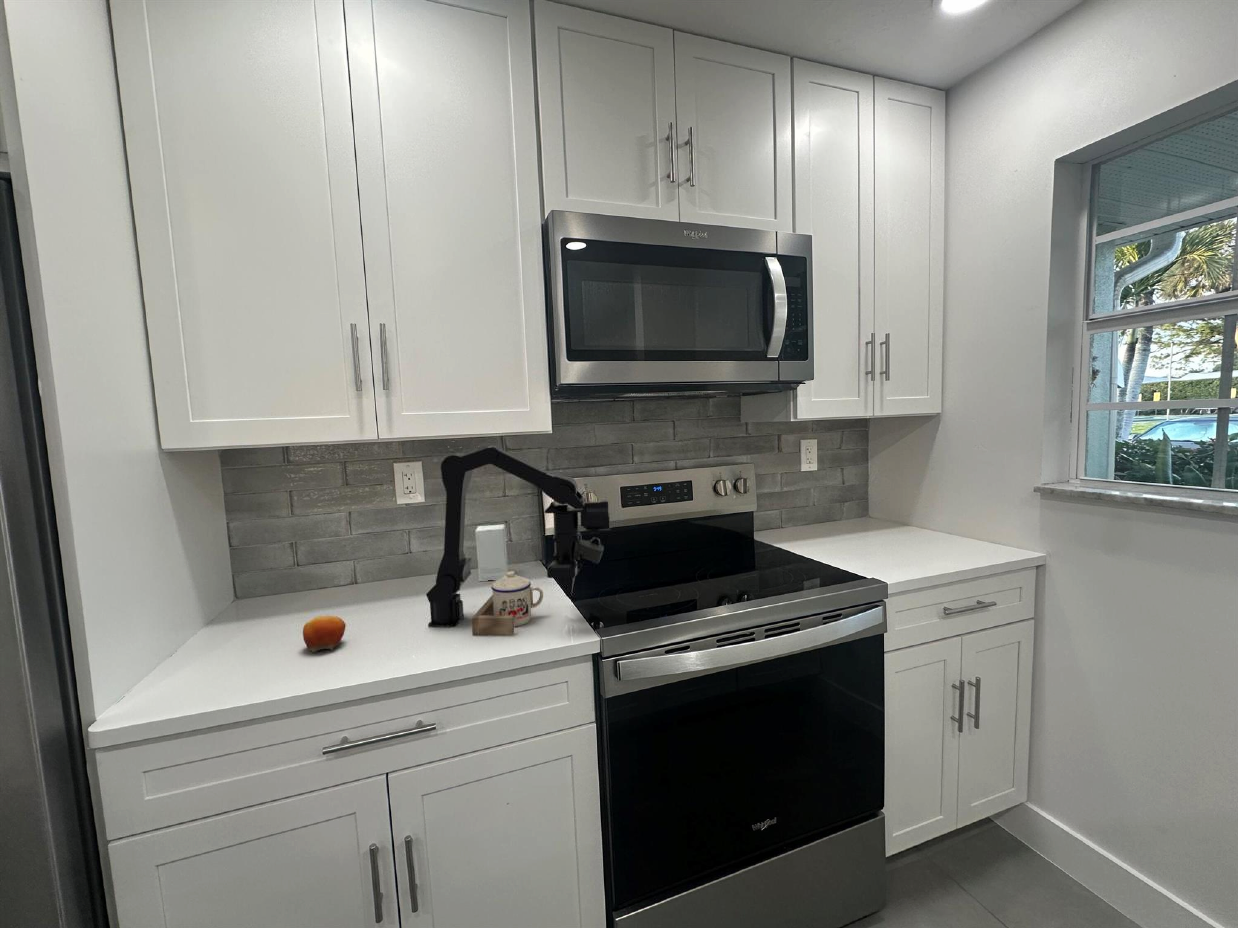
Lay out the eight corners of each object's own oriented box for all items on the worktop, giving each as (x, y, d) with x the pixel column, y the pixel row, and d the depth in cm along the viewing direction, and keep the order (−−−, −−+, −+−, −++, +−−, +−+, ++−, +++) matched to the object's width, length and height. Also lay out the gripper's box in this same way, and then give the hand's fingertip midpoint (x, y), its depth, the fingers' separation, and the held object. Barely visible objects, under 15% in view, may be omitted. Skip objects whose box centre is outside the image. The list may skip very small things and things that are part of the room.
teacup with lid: (496, 630, 123) (493, 580, 121) (490, 616, 131) (488, 569, 130) (548, 621, 127) (546, 573, 126) (539, 609, 135) (537, 563, 134)
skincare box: (508, 573, 166) (506, 523, 165) (506, 580, 159) (504, 528, 158) (480, 575, 165) (478, 525, 164) (477, 582, 158) (474, 529, 157)
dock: (472, 635, 120) (471, 618, 120) (498, 603, 140) (497, 588, 139) (512, 635, 119) (511, 617, 119) (533, 603, 139) (532, 588, 139)
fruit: (299, 655, 109) (299, 615, 112) (305, 661, 116) (305, 623, 119) (344, 647, 112) (343, 608, 115) (347, 653, 119) (346, 616, 122)
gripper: (596, 540, 117) (598, 610, 118) (604, 522, 135) (606, 583, 137) (545, 540, 117) (548, 610, 119) (560, 523, 136) (562, 583, 137)
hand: (569, 596), depth 128 cm, fingers closed
